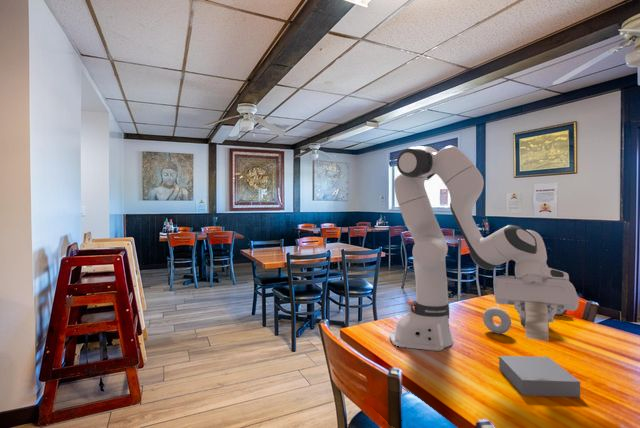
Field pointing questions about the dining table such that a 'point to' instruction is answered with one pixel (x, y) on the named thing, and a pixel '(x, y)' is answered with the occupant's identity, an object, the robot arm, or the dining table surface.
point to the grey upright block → (536, 321)
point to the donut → (501, 314)
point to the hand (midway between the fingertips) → (536, 319)
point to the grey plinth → (539, 376)
